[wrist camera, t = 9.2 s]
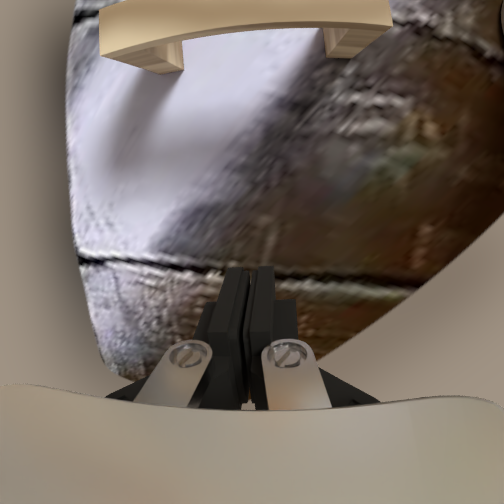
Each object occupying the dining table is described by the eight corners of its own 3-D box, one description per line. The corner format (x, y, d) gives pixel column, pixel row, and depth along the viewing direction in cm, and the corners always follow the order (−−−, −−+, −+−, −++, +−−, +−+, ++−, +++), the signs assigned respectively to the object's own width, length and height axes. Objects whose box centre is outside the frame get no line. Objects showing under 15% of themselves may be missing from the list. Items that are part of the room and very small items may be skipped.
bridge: (157, 41, 21) (99, 9, 12) (347, 24, 19) (383, -22, 10) (160, 74, 22) (99, 55, 13) (351, 58, 21) (392, 26, 12)
